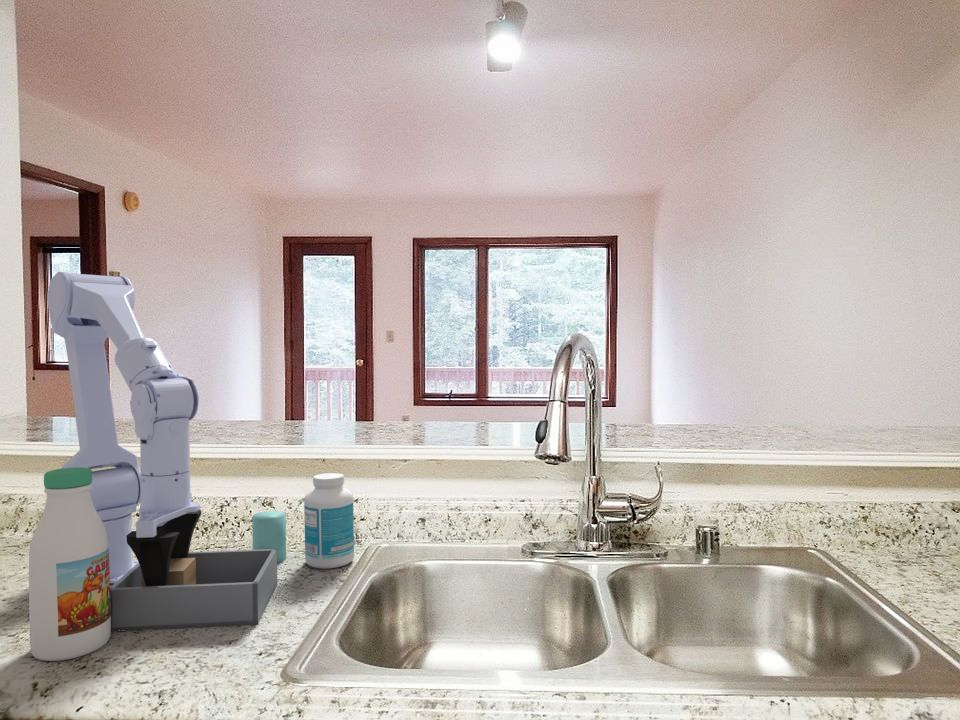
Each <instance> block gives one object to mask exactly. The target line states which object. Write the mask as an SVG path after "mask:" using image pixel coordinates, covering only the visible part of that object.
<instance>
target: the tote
mask: <svg viewBox="0 0 960 720" xmlns="http://www.w3.org/2000/svg"><path fill="white" fill-rule="evenodd" d="M188 558H196V584H195V585H172V586H149V587H142V571H141V568H140V565H139V562H138V563H137V564H136V565H135V566H134V567H133V568H132V569H130V570H129V571H128V572H127V573H126V574H125V575H124V576H122V577H121V578H120V579H119V580H118V581H117V582H116V583H112V585H110V610H111V631H115V632H122V631H121V630H134V631H143V630H142V629H154V630H170V629H169V628H173V629H188V628H189V627H190V628H191V627H193V628H209V627H208V626H213V627H227V626H228V627H229V626H231V627H232V626H248V625H249V626H250V625H251V626H253V625H259V622H260V621H261V619H262V617H263V615H264V613H265V610H266V608H267V606H268V604H269V603H270V600H271V599H272V597H273V594H274V592H275V590H276V588H277V585H278V563H277V549H261V550H253V549H237V550H212V551H189V553H188ZM167 628H168V629H167ZM190 628H189V629H190ZM119 630H120V631H119Z"/></svg>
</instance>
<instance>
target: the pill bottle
mask: <svg viewBox="0 0 960 720" xmlns="http://www.w3.org/2000/svg"><path fill="white" fill-rule="evenodd" d="M344 483H345V476H344V474H343V473H338V472H337V473H336V472H327V473H326V472H325V473H320V474H316V475H314V476H312V484H313V487H314V489H311V490H309V491H308V492H307V493H306V494H305V496H304V500H303V501H304V502H303V503H304V505H303V508H304V510H303V511H304V515H303V516H304V556H305V557H304V559H305V563H306V564H307V565H308V566H309V567H312V568H316V569H325V570H326V569H337V568H340V567H343V566H346V565H348V564H349V563H351V562H353V560H354V558H355V536H354V535H355V533H354V531H355V527H354V523H355V522H354V521H355V520H354V494H353V493H352V491H351V490H350V489H348V488H346V487H343V485H344Z"/></svg>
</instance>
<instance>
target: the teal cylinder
mask: <svg viewBox="0 0 960 720" xmlns="http://www.w3.org/2000/svg"><path fill="white" fill-rule="evenodd" d="M286 515H287V514H286V512H284V511H279V510H267V511H260V512H257V513H254V514H253V515H252V516H251V517H252V518H251V519H252V522H251V523H252V532H251V533H252V550H261V549H277V564H279V562H280V563H283V562H284V561H285V560H286V559H287V516H286Z"/></svg>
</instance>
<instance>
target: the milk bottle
mask: <svg viewBox="0 0 960 720" xmlns="http://www.w3.org/2000/svg"><path fill="white" fill-rule="evenodd" d="M92 471H93V469H89V468H83V467H74V468H63V469H61V468H57V469H52V470H49V471H47V472H46V471H45V473H44V475H43V486H44V489H43V490H44V491H43V492H44V494H46V501H45V505H44V510H43V512H42V515H41V517H40V519H39V521H38V523H37V525H36V528H35V529H34V532H33V534H32V537H31V541H30V544H29V545H30V546H29V552H28V555H29V556H28V603H29V604H28V605H29V606H28V607H29V608H28V609H29V610H28V611H29V644H30V645H29V646H30V653H31V655H32V657H33V658H35V659H36V660H38V661H39V660H40V661H46V662H56V661H59V662H60V661H66V660H72V659H76V658H79V657H82V656H85V655H88V654H91V653H94V652H95V651H97V650H99V649H101V648H103V646H105V645H106V644H107V643H108V641H109V639H110V637H111V634H112V633H111V610H110V587H111V583H110V566H109V546H108V537H107V532H106V529H105V526H104V524H103V522H102V520H101V518H100V517H99V515H98V513H97V512H96V510H95V507H94V505H93V502H92V499H91V496H90V489H91V488H92Z"/></svg>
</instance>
